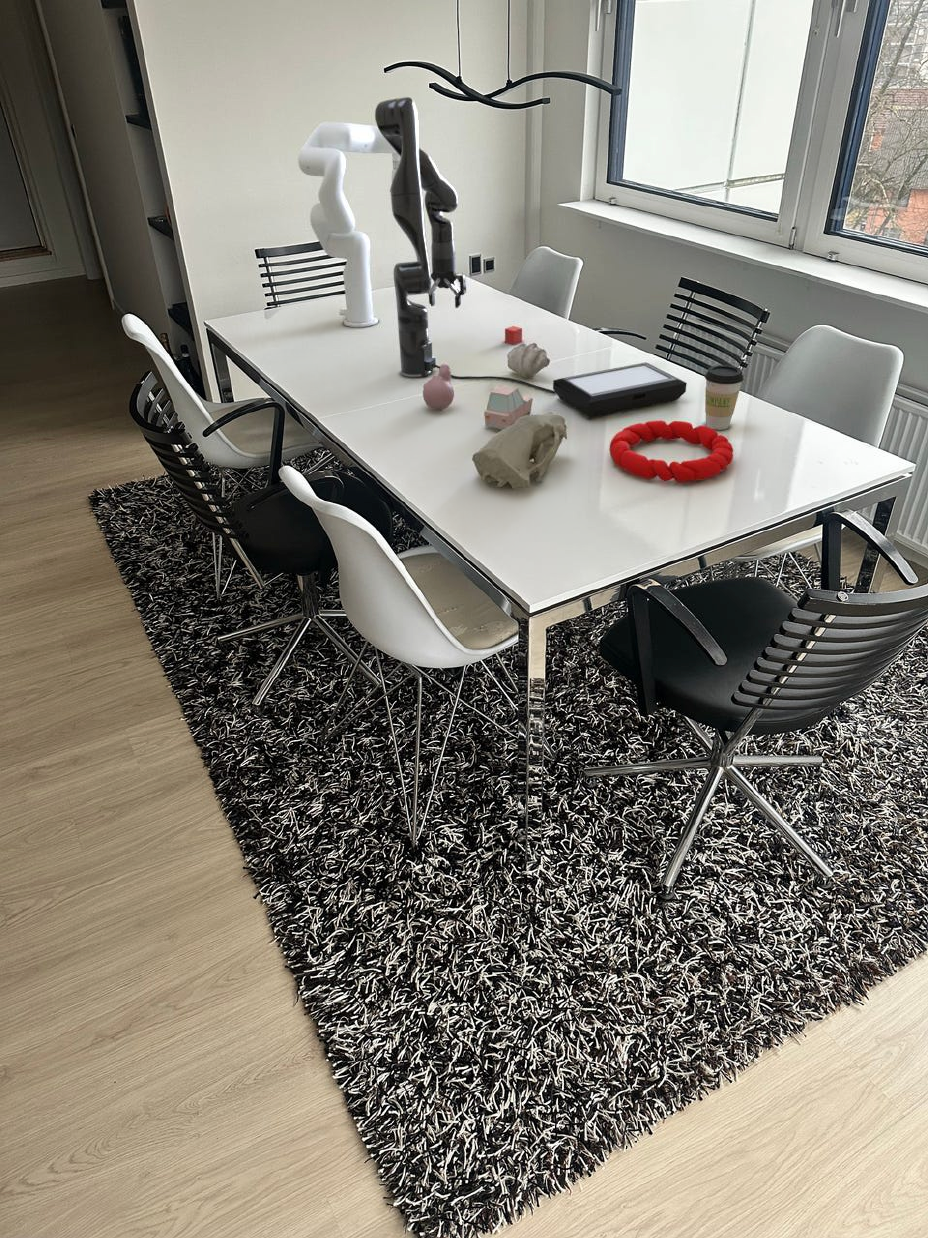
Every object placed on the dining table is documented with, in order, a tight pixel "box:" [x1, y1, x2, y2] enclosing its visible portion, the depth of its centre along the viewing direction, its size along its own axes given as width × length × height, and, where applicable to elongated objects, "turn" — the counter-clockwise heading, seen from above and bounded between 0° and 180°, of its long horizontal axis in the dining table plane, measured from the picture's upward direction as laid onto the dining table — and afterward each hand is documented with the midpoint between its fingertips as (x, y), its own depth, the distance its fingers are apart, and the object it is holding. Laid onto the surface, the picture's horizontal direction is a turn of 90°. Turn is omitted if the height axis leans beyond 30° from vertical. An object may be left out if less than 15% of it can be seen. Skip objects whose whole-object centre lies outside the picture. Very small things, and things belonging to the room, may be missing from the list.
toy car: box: [483, 385, 534, 430], centre depth 242 cm, size 9×15×10 cm, turn 149°
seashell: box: [506, 342, 551, 379], centre depth 273 cm, size 10×15×10 cm
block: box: [504, 325, 523, 346], centre depth 303 cm, size 4×4×5 cm
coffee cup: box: [704, 364, 745, 431], centre depth 235 cm, size 10×10×15 cm
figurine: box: [422, 363, 455, 411], centre depth 252 cm, size 9×11×12 cm
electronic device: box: [552, 362, 688, 419], centre depth 255 cm, size 32×6×20 cm
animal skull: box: [471, 411, 568, 490], centre depth 215 cm, size 17×25×20 cm
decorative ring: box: [609, 419, 734, 483], centre depth 221 cm, size 7×30×30 cm
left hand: (406, 216), depth 334 cm, fingers open, 9 cm apart
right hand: (445, 306), depth 295 cm, fingers open, 8 cm apart
